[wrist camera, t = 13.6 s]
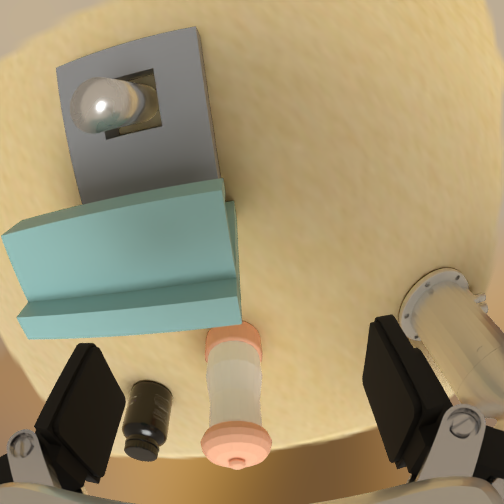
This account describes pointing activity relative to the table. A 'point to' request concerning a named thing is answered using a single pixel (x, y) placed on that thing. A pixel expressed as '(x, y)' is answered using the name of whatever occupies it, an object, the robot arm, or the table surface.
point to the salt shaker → (235, 397)
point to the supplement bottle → (146, 420)
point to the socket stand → (135, 212)
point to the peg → (111, 104)
